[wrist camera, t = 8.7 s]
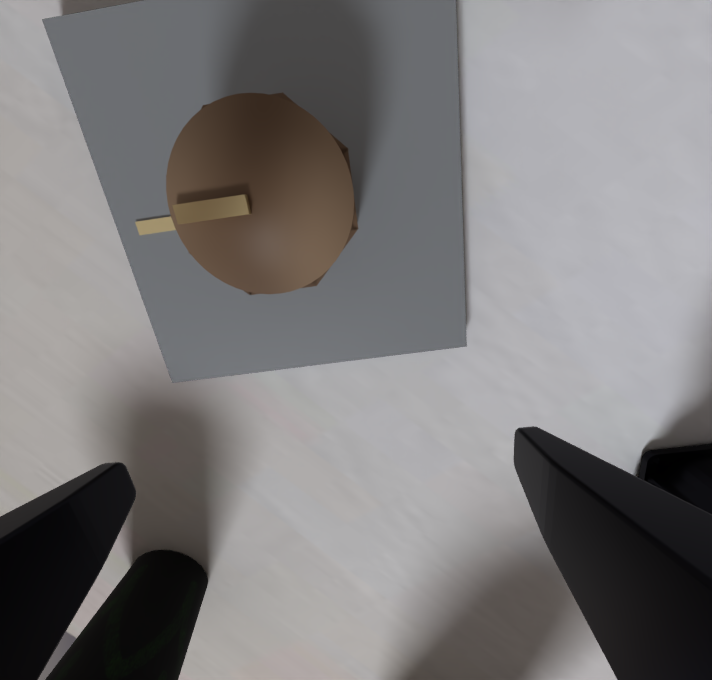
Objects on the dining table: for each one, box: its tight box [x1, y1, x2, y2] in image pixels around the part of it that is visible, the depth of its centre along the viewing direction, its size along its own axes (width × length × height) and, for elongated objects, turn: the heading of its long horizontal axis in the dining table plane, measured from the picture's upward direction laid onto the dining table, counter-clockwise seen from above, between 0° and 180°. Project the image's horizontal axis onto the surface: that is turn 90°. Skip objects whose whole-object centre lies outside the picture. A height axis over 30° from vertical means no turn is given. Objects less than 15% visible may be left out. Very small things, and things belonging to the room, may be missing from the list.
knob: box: [166, 92, 358, 295], centre depth 14 cm, size 6×6×5 cm
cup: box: [46, 550, 208, 680], centre depth 20 cm, size 8×8×12 cm
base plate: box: [42, 0, 467, 383], centre depth 15 cm, size 16×16×4 cm
